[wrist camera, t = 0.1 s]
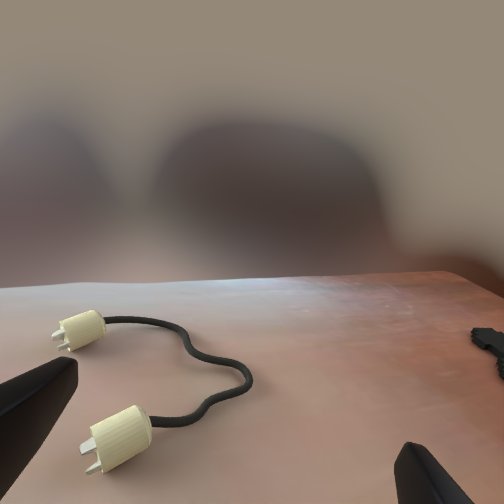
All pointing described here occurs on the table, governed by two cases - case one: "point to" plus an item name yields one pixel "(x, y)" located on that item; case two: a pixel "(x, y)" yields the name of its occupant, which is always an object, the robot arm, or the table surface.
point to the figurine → (491, 344)
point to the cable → (134, 418)
